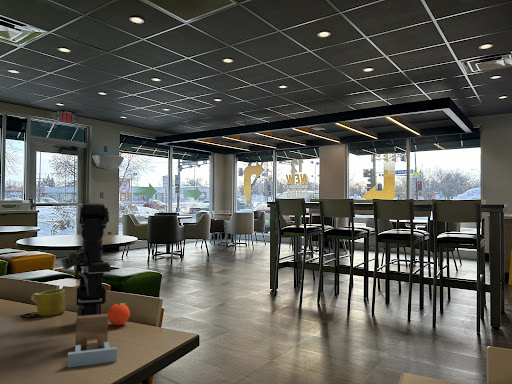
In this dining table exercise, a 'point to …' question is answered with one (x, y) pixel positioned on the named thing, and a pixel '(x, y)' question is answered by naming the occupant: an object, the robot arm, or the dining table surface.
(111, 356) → the slot bracket
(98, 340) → the brown upright blocky piece
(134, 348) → the dining table surface
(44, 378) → the dining table surface
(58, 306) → the mug
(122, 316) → the clementine
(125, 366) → the dining table surface
